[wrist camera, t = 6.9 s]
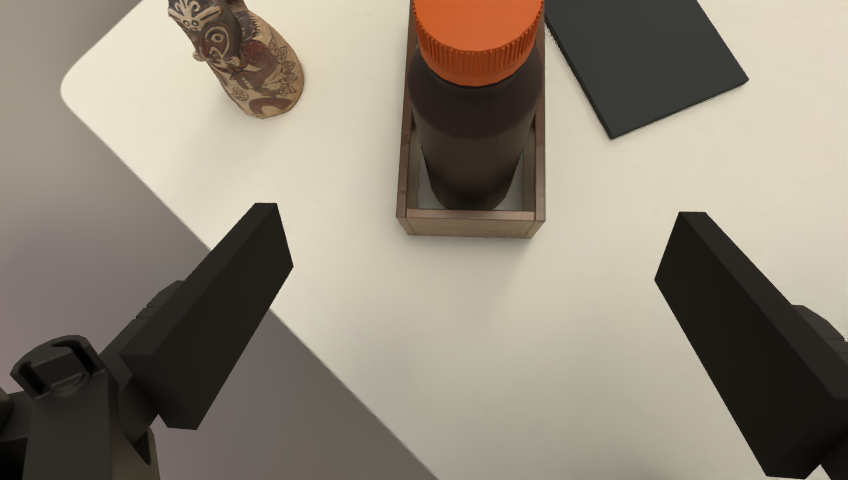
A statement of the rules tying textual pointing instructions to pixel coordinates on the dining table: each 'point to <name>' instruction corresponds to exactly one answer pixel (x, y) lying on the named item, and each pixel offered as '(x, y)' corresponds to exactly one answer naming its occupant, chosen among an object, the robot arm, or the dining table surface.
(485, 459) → the dining table surface
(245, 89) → the figurine
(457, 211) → the caddy
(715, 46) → the mat
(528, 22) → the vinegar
